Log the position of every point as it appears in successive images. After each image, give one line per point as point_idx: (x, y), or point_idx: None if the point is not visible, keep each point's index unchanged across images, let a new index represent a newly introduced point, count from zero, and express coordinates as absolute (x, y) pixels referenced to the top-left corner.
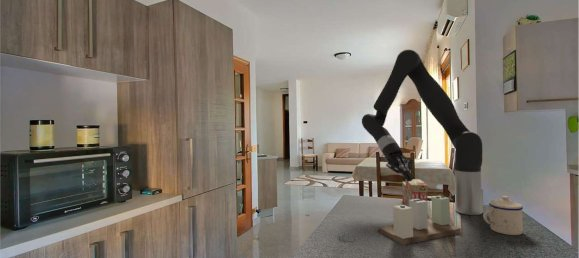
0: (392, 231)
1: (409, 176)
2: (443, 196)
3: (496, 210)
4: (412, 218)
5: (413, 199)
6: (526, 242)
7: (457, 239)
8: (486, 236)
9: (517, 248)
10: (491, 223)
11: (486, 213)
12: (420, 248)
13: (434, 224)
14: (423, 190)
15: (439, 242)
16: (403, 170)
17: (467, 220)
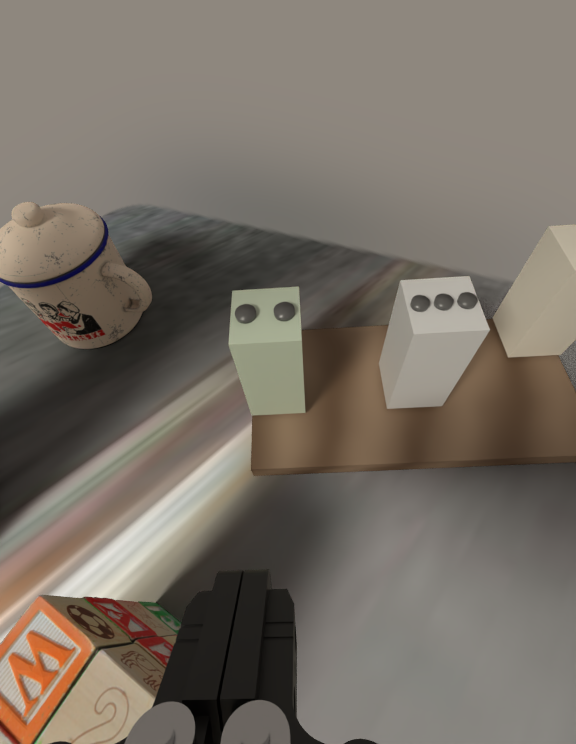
0: (549, 388)
1: (262, 590)
2: (245, 307)
3: (109, 252)
4: (525, 264)
5: (455, 328)
6: (159, 251)
7: (317, 310)
8: (209, 302)
9: (222, 237)
10: (139, 301)
11: (140, 276)
12: (483, 296)
13: (312, 394)
14: (97, 615)
15: (392, 310)
16: (288, 740)
17: (89, 432)
